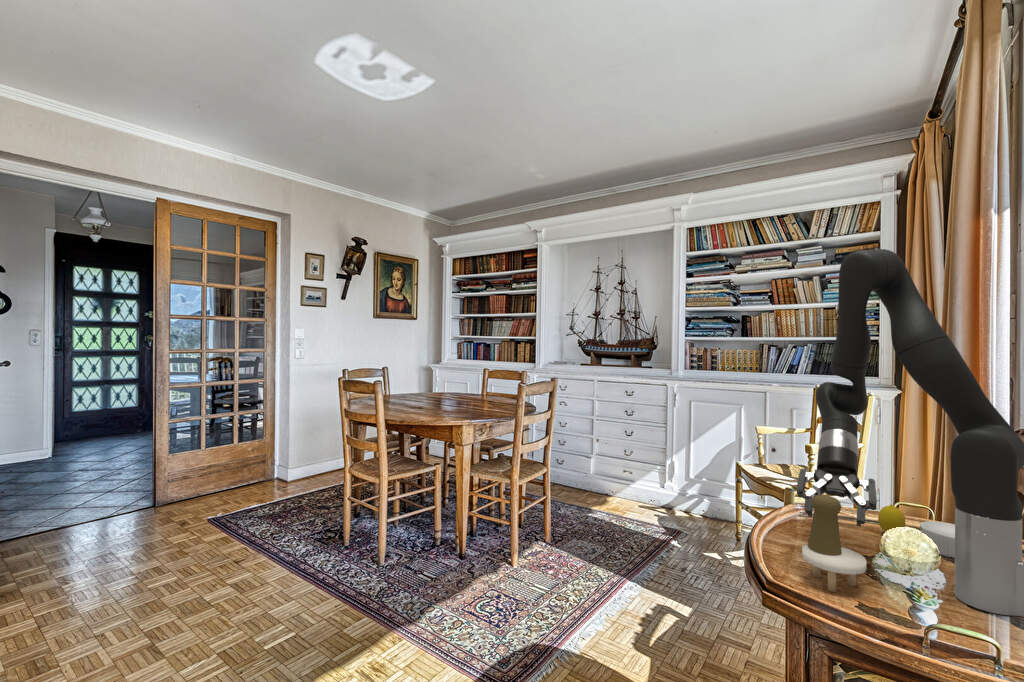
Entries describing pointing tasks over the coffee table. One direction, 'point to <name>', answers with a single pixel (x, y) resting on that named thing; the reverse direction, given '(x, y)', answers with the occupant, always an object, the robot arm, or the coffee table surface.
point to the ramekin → (941, 536)
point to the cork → (825, 525)
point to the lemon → (891, 518)
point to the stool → (835, 565)
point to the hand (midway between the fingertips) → (833, 519)
